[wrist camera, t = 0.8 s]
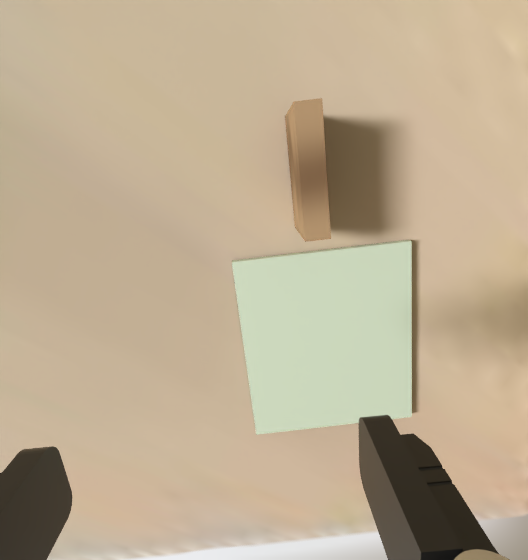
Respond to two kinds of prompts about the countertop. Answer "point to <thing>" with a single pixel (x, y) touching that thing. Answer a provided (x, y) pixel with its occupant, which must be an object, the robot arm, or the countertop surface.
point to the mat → (327, 335)
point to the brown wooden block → (308, 169)
